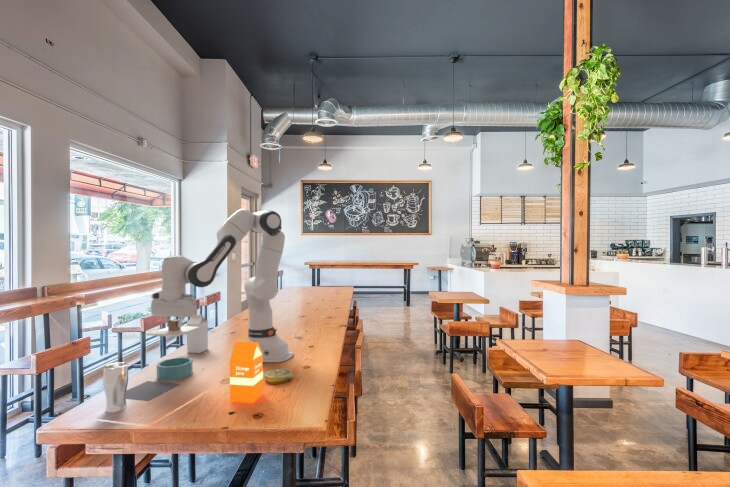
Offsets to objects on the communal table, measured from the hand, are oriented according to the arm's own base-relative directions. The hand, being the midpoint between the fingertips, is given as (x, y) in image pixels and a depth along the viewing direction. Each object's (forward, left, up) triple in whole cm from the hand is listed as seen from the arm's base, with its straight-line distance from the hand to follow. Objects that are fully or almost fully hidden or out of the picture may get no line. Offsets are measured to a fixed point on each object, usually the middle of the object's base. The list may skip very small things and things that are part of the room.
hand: (174, 326), depth 154 cm
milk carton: (+16, -34, -21) cm, 43 cm away
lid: (0, 0, -2) cm, 2 cm away
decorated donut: (-45, -5, -21) cm, 50 cm away
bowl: (0, 0, -21) cm, 21 cm away
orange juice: (-42, +13, -21) cm, 49 cm away
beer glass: (-4, +31, -21) cm, 38 cm away
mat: (-2, +16, -21) cm, 26 cm away
